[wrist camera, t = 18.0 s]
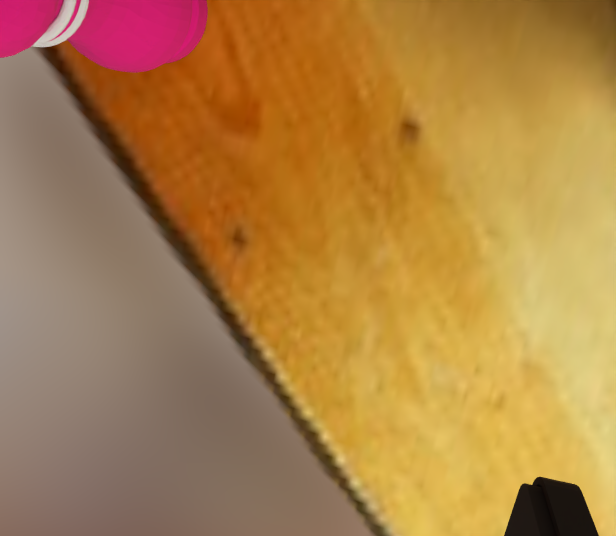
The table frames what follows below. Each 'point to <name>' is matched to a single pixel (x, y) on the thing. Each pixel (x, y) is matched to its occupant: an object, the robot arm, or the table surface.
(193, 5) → the pepper mill
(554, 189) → the table surface
